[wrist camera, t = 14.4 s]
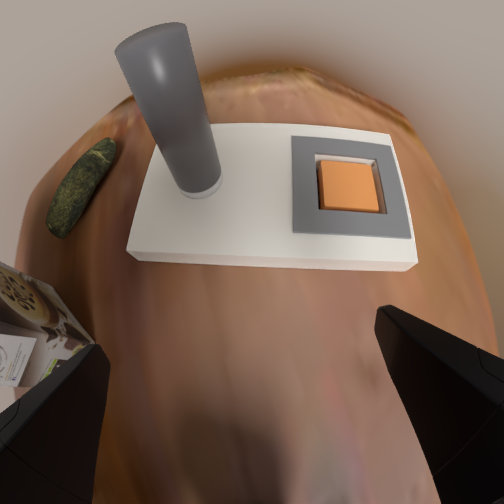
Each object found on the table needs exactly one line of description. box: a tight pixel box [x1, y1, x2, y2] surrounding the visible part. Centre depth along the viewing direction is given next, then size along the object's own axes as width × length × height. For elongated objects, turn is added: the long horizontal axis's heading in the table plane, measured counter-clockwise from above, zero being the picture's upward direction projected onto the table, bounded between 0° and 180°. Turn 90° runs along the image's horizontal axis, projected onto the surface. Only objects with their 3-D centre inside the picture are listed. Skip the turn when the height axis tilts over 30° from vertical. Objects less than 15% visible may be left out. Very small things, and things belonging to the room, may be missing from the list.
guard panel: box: [126, 123, 418, 271], centre depth 24 cm, size 24×14×3 cm, turn 86°
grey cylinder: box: [115, 22, 223, 199], centre depth 17 cm, size 4×4×14 cm
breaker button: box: [318, 160, 379, 213], centre depth 23 cm, size 5×5×2 cm
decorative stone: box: [46, 138, 117, 239], centre depth 25 cm, size 11×8×5 cm
